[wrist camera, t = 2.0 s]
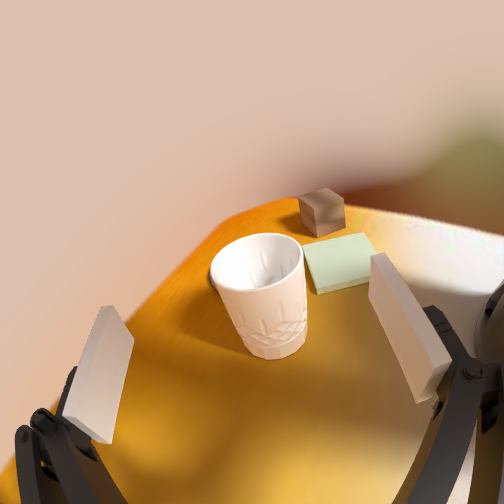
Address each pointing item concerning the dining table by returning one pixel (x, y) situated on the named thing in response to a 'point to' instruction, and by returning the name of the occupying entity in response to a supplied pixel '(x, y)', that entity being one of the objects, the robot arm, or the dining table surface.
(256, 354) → the white cup
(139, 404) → the dining table surface
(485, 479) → the robot arm
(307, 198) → the walnut block
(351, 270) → the green mat
